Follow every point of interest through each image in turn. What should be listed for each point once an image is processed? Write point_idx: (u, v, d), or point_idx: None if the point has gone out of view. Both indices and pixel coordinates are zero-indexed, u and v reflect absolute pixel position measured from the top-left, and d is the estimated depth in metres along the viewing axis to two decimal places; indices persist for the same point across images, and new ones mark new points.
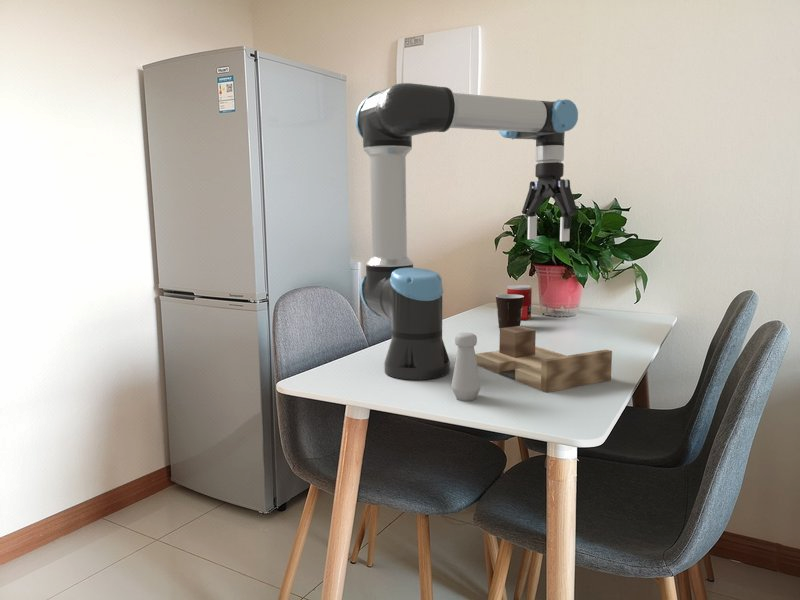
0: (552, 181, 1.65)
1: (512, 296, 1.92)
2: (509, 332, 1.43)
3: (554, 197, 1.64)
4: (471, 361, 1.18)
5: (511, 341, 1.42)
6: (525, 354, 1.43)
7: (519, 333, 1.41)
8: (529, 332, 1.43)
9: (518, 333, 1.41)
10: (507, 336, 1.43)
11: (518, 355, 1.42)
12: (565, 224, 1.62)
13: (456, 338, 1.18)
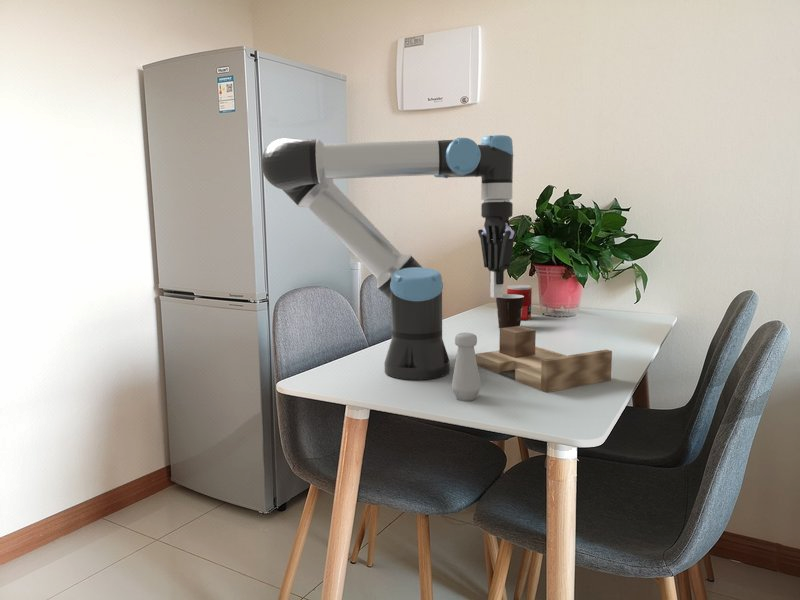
0: (500, 222, 1.46)
1: (512, 296, 1.92)
2: (509, 332, 1.43)
3: (495, 244, 1.48)
4: (471, 361, 1.18)
5: (511, 341, 1.42)
6: (525, 354, 1.43)
7: (519, 333, 1.41)
8: (529, 332, 1.43)
9: (518, 333, 1.41)
10: (507, 336, 1.43)
11: (518, 355, 1.42)
12: (497, 279, 1.50)
13: (456, 338, 1.18)
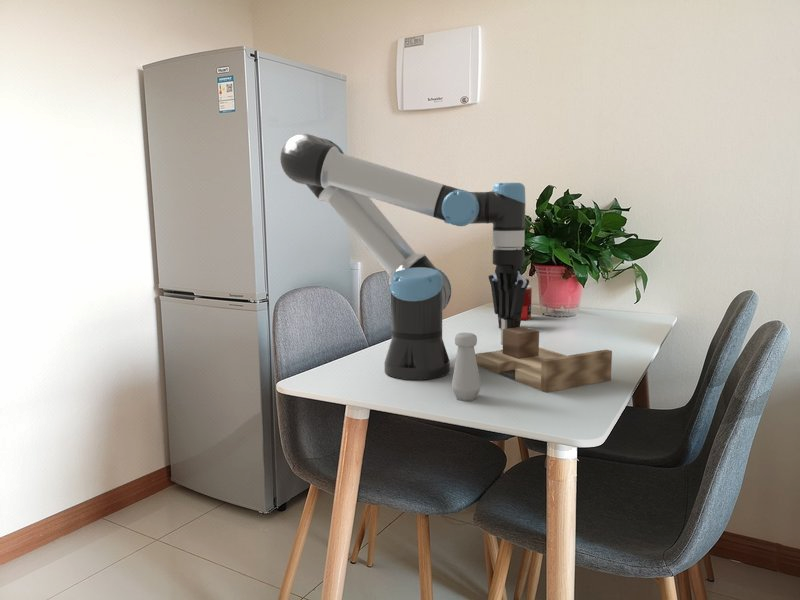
0: (512, 270, 1.43)
1: None
2: (512, 333, 1.42)
3: (506, 292, 1.45)
4: (471, 361, 1.18)
5: (515, 341, 1.41)
6: (529, 355, 1.42)
7: (523, 334, 1.40)
8: (533, 333, 1.42)
9: (522, 334, 1.40)
10: (511, 337, 1.42)
11: (521, 356, 1.41)
12: (508, 327, 1.47)
13: (456, 338, 1.18)
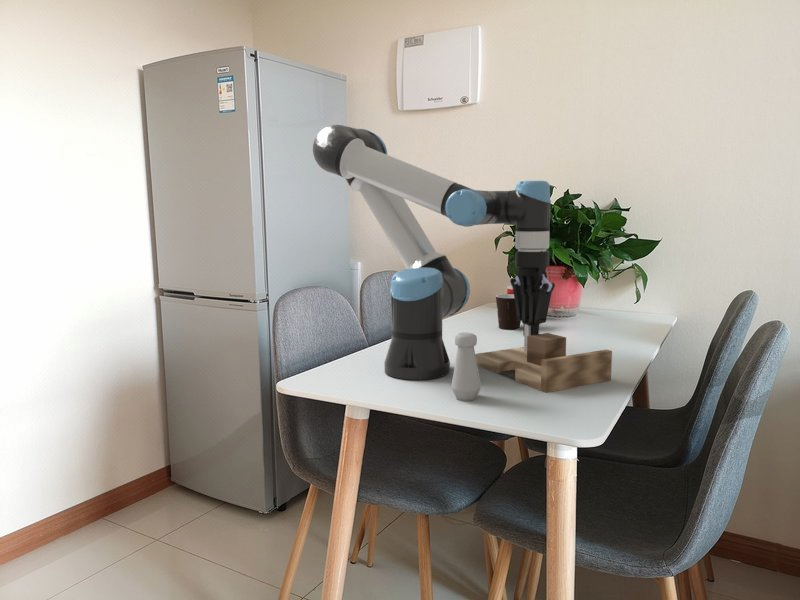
0: (537, 273, 1.35)
1: (512, 296, 1.92)
2: (538, 340, 1.34)
3: (530, 296, 1.38)
4: (471, 361, 1.18)
5: (541, 349, 1.33)
6: None
7: (549, 341, 1.33)
8: (559, 339, 1.34)
9: (548, 341, 1.33)
10: (536, 344, 1.35)
11: None
12: (532, 333, 1.39)
13: (456, 338, 1.18)
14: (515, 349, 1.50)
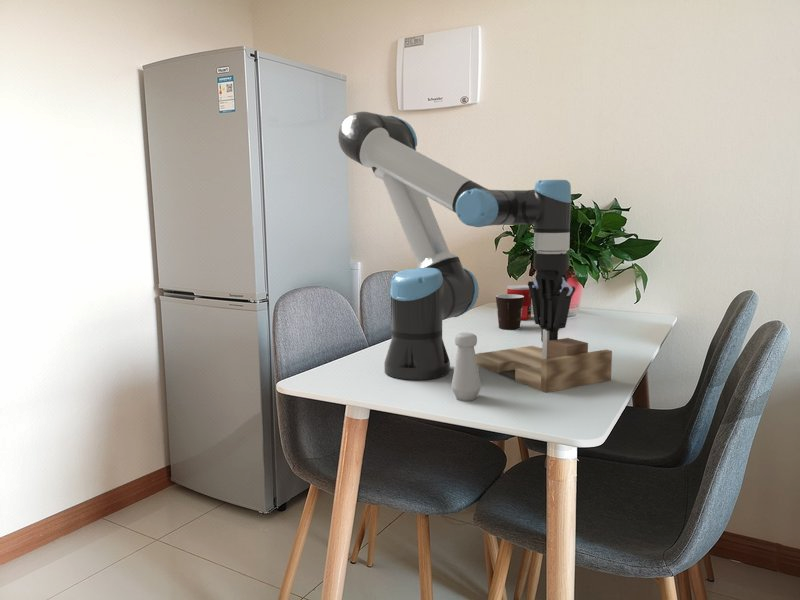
0: (556, 276, 1.29)
1: (512, 296, 1.92)
2: (559, 345, 1.28)
3: (549, 300, 1.32)
4: (471, 361, 1.18)
5: (562, 355, 1.28)
6: None
7: (571, 347, 1.27)
8: (581, 345, 1.29)
9: (570, 347, 1.27)
10: (557, 350, 1.29)
11: None
12: (550, 339, 1.33)
13: (456, 338, 1.18)
14: (515, 349, 1.50)
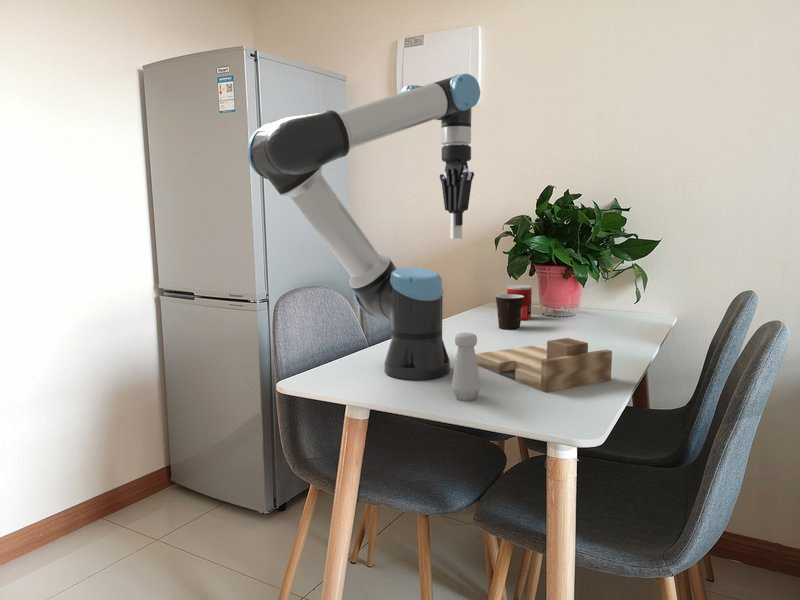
0: (459, 164, 1.52)
1: (512, 296, 1.92)
2: (559, 345, 1.28)
3: (454, 186, 1.55)
4: (471, 361, 1.18)
5: (562, 355, 1.28)
6: None
7: (571, 347, 1.27)
8: (581, 345, 1.29)
9: (570, 347, 1.27)
10: (557, 350, 1.29)
11: None
12: (456, 221, 1.56)
13: (456, 338, 1.18)
14: (515, 349, 1.50)
